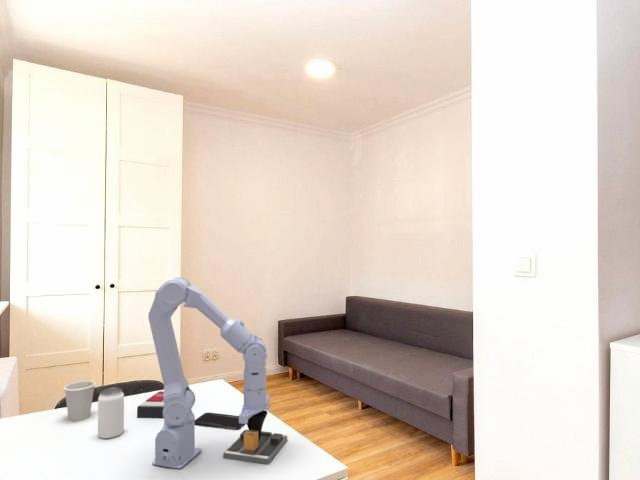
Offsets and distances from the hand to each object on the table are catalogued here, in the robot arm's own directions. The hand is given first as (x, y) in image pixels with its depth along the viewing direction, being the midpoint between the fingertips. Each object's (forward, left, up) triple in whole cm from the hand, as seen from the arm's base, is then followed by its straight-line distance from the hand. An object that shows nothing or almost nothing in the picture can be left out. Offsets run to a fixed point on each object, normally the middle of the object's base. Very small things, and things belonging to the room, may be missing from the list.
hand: (255, 440), depth 105 cm
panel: (+1, 0, -2) cm, 3 cm away
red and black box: (+18, +40, -3) cm, 44 cm away
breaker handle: (-2, 0, -1) cm, 3 cm away
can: (-2, +43, -3) cm, 43 cm away
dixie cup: (+5, +61, -3) cm, 61 cm away
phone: (+13, +17, -3) cm, 22 cm away
